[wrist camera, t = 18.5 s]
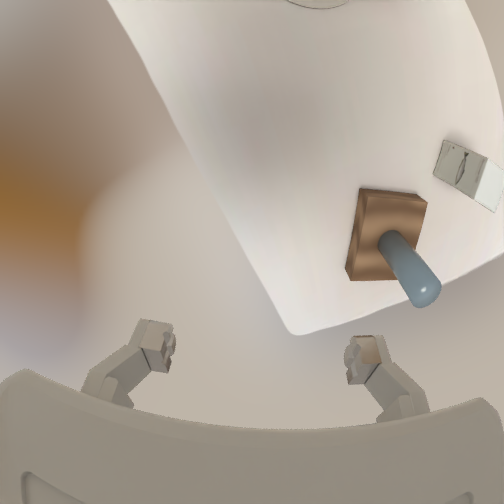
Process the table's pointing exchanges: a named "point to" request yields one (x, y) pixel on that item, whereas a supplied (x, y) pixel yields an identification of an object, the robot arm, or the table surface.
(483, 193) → the supplement box
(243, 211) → the table surface
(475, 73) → the table surface
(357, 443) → the robot arm
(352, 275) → the plate
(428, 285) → the slate cylinder
